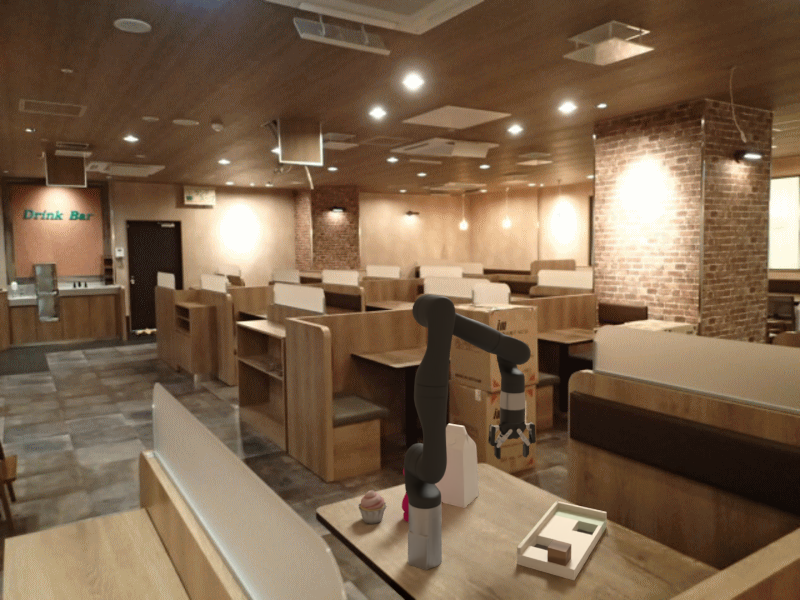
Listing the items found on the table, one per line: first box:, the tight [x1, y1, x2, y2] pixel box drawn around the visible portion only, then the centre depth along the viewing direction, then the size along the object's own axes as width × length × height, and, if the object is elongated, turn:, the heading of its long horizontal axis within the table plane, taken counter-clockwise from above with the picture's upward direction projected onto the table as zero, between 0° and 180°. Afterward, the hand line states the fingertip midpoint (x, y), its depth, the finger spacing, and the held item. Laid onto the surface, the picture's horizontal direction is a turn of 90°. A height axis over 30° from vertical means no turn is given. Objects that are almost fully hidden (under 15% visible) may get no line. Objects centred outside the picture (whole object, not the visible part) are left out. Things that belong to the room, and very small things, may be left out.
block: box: [547, 539, 571, 566], centre depth 170 cm, size 5×5×4 cm
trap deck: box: [516, 500, 608, 581], centre depth 183 cm, size 34×16×5 cm, turn 148°
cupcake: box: [358, 489, 388, 525], centre depth 201 cm, size 9×9×10 cm
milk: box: [435, 423, 480, 509], centre depth 215 cm, size 12×12×26 cm
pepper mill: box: [401, 468, 409, 523], centre depth 201 cm, size 7×7×20 cm
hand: (511, 457), depth 189 cm, fingers open, 8 cm apart
